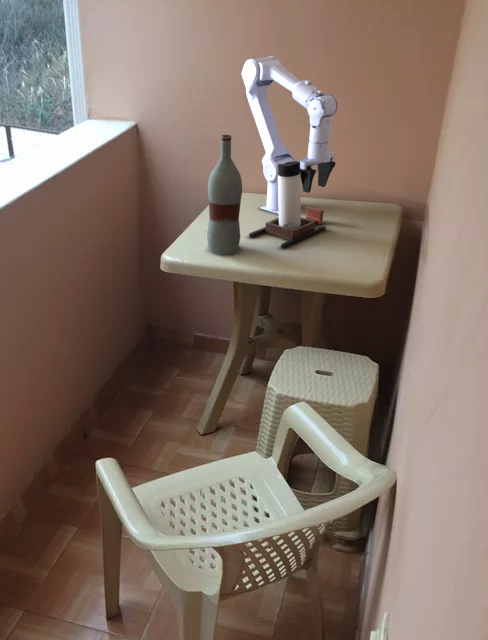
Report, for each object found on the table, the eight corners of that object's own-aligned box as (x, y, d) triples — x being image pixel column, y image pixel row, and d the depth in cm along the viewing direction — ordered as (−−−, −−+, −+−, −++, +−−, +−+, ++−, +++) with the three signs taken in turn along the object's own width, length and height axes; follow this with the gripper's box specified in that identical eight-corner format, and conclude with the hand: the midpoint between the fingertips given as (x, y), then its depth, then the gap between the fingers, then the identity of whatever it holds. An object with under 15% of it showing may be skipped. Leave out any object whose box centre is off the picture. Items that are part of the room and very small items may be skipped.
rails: (291, 219, 201) (291, 215, 200) (325, 230, 194) (325, 226, 193) (249, 237, 189) (249, 233, 189) (283, 248, 182) (284, 244, 181)
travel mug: (287, 237, 188) (286, 166, 177) (274, 231, 193) (273, 161, 182) (305, 231, 190) (305, 161, 179) (292, 225, 195) (291, 156, 184)
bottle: (231, 258, 177) (235, 142, 159) (201, 252, 180) (201, 138, 163) (245, 246, 183) (250, 133, 166) (215, 241, 187) (217, 130, 170)
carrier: (302, 217, 202) (303, 204, 200) (329, 225, 197) (331, 211, 194) (265, 232, 192) (265, 219, 189) (292, 241, 186) (293, 227, 184)
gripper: (315, 148, 181) (310, 197, 188) (345, 139, 189) (339, 186, 197) (294, 144, 185) (290, 192, 193) (325, 135, 193) (320, 181, 201)
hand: (314, 189), depth 195 cm, fingers open, 7 cm apart
